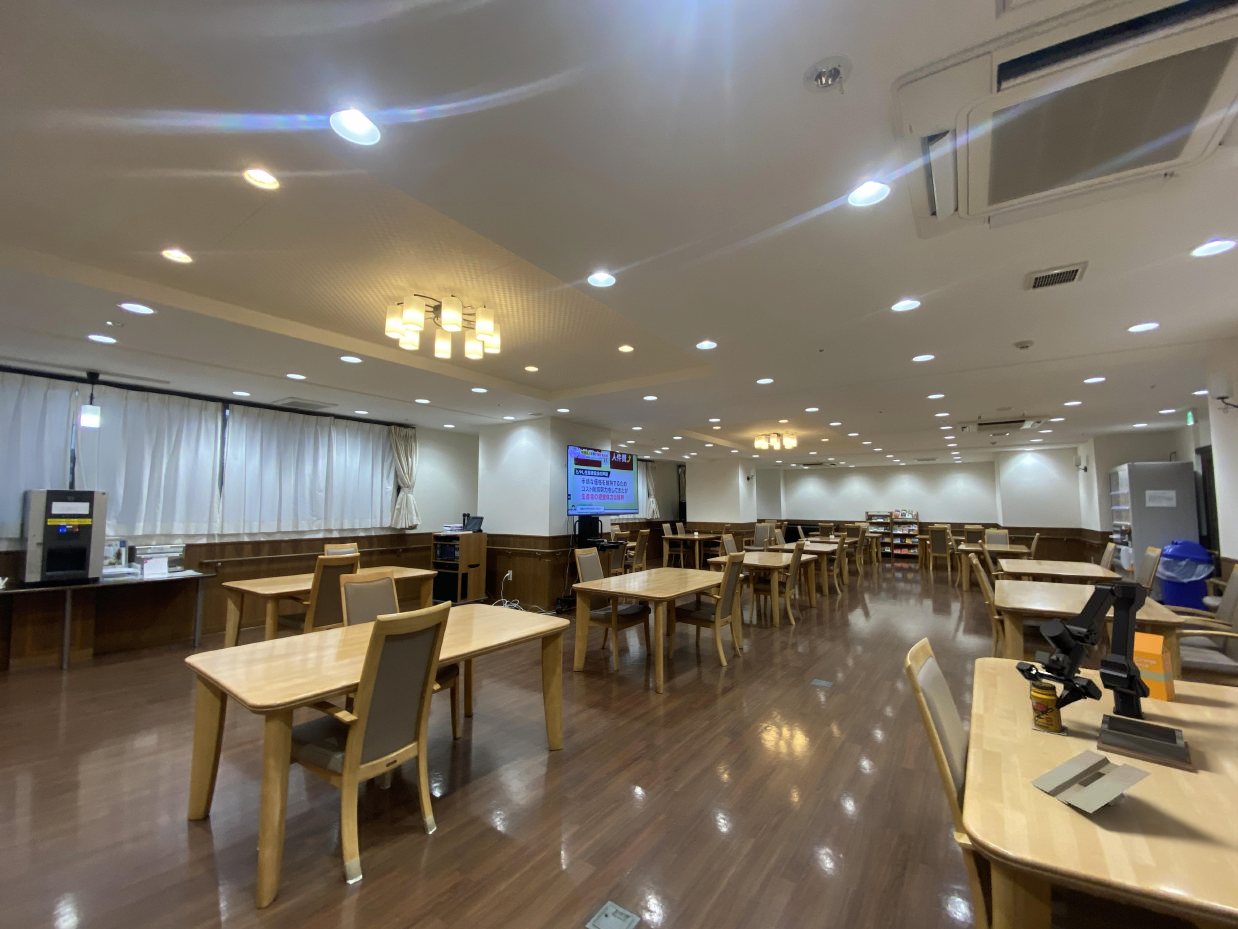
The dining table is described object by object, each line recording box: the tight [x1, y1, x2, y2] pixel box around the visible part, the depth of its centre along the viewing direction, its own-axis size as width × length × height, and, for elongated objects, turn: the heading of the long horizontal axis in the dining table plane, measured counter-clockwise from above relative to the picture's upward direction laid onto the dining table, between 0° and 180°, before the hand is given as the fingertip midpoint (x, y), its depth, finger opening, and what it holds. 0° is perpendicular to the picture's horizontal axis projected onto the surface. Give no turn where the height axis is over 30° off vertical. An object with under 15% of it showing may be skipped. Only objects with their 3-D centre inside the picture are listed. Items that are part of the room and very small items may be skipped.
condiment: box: [1030, 681, 1067, 736], centre depth 138 cm, size 7×8×12 cm
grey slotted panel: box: [1030, 749, 1153, 814], centre depth 101 cm, size 16×9×15 cm
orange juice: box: [1133, 631, 1177, 702], centre depth 164 cm, size 8×9×20 cm
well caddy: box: [1096, 713, 1194, 773], centre depth 126 cm, size 20×16×4 cm
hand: (1043, 703), depth 138 cm, fingers closed on condiment, 6 cm apart
